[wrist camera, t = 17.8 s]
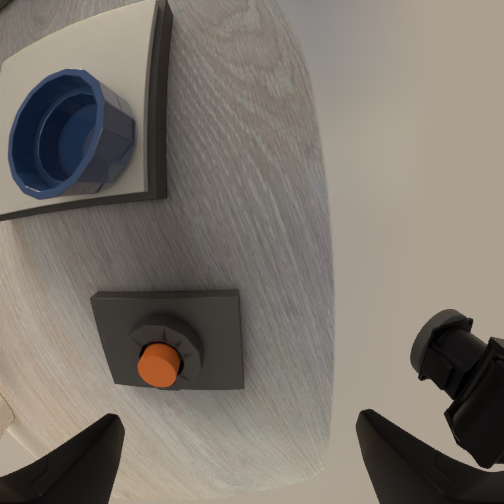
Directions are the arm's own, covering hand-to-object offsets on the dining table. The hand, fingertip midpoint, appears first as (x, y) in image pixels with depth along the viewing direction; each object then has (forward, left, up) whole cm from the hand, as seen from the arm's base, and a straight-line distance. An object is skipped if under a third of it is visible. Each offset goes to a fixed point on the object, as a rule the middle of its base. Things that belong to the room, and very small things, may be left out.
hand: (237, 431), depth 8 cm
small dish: (+8, -12, -8) cm, 17 cm away
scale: (+12, -15, -12) cm, 23 cm away
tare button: (+5, +3, -9) cm, 11 cm away
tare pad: (+5, +3, -12) cm, 13 cm away
